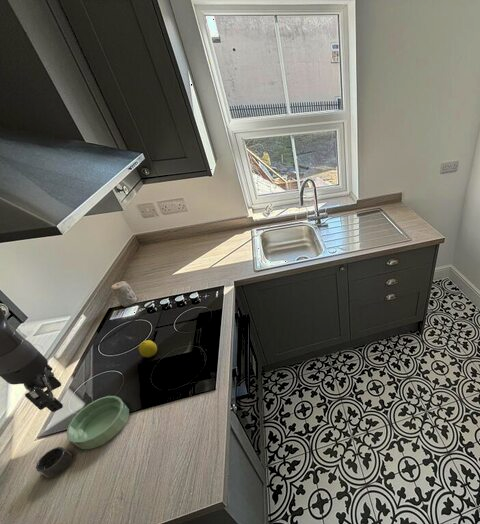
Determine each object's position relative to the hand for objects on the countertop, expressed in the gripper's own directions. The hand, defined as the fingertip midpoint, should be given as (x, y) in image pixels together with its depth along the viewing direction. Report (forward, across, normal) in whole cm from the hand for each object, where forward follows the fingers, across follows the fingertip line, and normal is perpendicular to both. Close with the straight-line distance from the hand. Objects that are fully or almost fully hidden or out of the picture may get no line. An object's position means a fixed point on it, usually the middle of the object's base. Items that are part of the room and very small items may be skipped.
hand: (57, 397), depth 78 cm
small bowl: (+21, +2, -10) cm, 23 cm away
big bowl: (+21, -2, +2) cm, 21 cm away
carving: (+21, -65, +20) cm, 71 cm away
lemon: (+21, -22, +20) cm, 37 cm away
